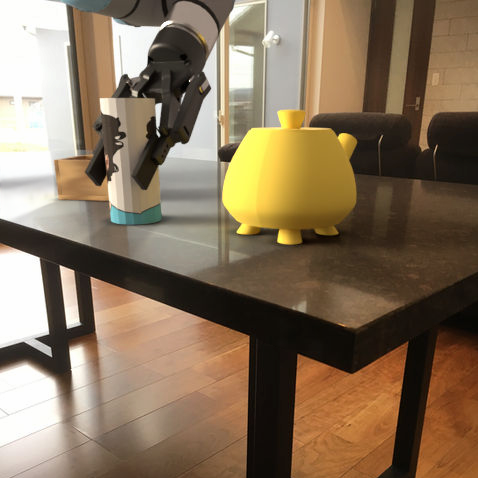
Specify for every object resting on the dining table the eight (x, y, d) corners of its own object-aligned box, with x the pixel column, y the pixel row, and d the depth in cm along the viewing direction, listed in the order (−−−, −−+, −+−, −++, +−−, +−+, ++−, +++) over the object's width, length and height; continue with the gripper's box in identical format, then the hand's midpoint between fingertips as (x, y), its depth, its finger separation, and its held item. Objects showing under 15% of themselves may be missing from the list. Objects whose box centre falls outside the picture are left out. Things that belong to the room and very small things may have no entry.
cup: (162, 214, 73) (156, 99, 68) (160, 224, 67) (153, 98, 61) (114, 215, 73) (103, 99, 67) (107, 225, 66) (95, 97, 61)
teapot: (303, 211, 76) (308, 109, 70) (398, 227, 65) (412, 109, 60) (196, 231, 63) (192, 109, 58) (293, 255, 52) (299, 109, 47)
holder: (58, 199, 86) (53, 159, 83) (86, 190, 96) (82, 154, 93) (121, 201, 84) (118, 160, 82) (143, 191, 94) (140, 155, 92)
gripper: (253, 68, 71) (193, 205, 64) (138, 72, 80) (74, 194, 72) (235, 18, 65) (166, 164, 57) (112, 28, 73) (39, 157, 66)
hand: (115, 180), depth 65 cm, fingers closed on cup, 7 cm apart
